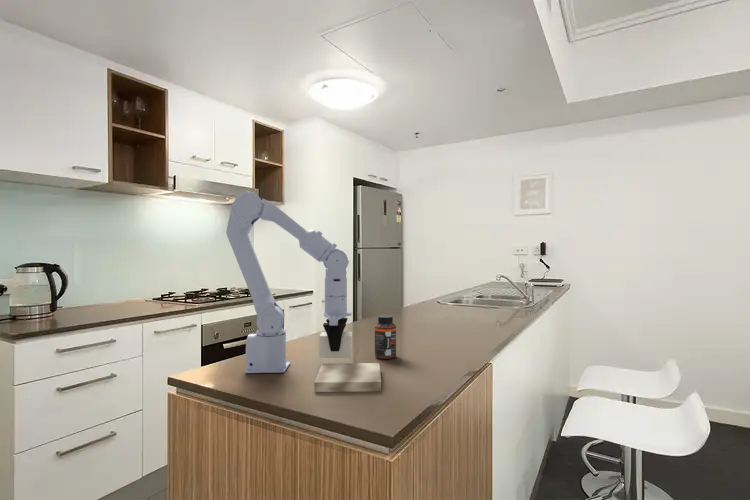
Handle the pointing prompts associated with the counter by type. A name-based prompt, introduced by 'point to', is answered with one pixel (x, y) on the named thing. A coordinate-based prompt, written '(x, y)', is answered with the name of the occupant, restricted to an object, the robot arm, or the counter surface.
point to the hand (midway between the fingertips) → (335, 348)
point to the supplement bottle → (385, 337)
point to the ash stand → (348, 377)
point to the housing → (344, 349)
